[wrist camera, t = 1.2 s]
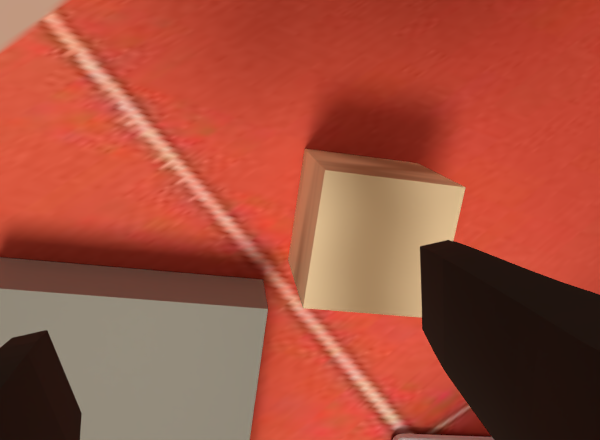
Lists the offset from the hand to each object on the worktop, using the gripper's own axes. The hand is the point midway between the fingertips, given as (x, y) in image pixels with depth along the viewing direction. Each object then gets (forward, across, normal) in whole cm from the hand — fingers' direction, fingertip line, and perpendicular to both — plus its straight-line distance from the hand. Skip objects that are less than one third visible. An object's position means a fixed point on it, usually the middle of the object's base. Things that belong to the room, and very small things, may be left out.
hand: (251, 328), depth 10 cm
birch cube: (+12, -5, +4) cm, 14 cm away
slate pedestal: (+12, +6, +10) cm, 16 cm away
